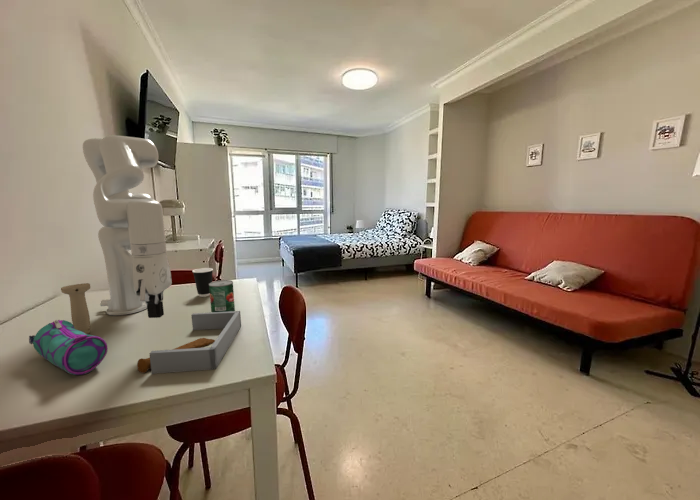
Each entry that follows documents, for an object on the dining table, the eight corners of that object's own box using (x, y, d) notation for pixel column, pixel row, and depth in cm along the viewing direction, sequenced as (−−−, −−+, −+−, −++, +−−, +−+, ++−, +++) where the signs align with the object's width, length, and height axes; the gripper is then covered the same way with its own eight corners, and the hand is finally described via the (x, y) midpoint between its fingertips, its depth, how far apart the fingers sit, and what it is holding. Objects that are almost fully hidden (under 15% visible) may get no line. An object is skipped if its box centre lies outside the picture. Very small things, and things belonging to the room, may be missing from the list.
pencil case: (32, 360, 77) (25, 324, 75) (76, 346, 84) (71, 313, 83) (65, 384, 66) (58, 343, 65) (113, 365, 74) (107, 328, 72)
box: (151, 373, 70) (149, 353, 69) (194, 328, 95) (192, 313, 94) (216, 369, 72) (214, 349, 71) (241, 326, 97) (240, 310, 96)
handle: (98, 333, 92) (91, 285, 90) (69, 340, 88) (61, 289, 85) (95, 328, 96) (89, 282, 93) (68, 335, 91) (60, 286, 89)
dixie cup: (219, 294, 131) (217, 269, 129) (201, 299, 124) (199, 272, 122) (208, 291, 135) (206, 267, 133) (190, 295, 128) (188, 270, 127)
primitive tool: (203, 339, 89) (202, 327, 88) (217, 342, 86) (216, 330, 86) (134, 372, 71) (132, 358, 71) (149, 378, 69) (148, 363, 69)
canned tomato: (209, 311, 109) (206, 282, 108) (231, 307, 114) (229, 278, 112) (214, 318, 103) (211, 287, 101) (237, 313, 108) (235, 283, 106)
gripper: (149, 254, 71) (157, 328, 74) (177, 244, 86) (182, 306, 89) (114, 255, 70) (124, 329, 74) (148, 244, 85) (155, 306, 88)
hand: (156, 316), depth 81 cm, fingers closed
